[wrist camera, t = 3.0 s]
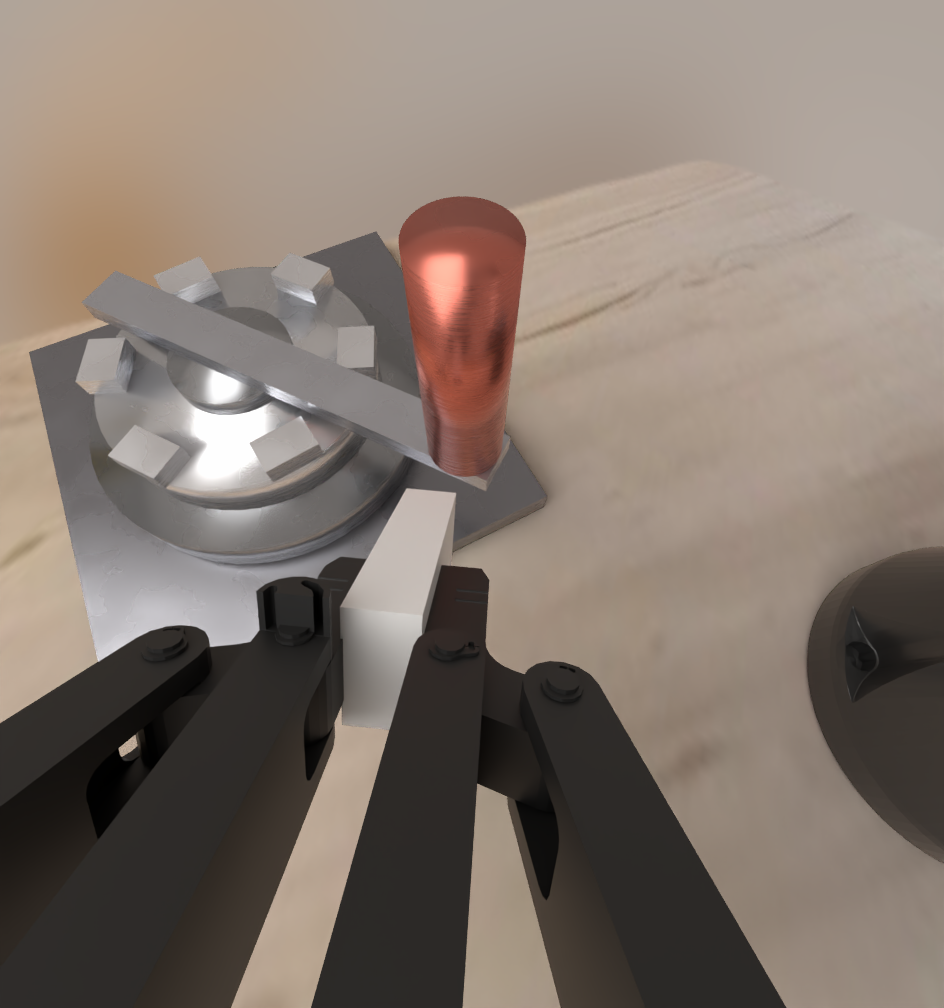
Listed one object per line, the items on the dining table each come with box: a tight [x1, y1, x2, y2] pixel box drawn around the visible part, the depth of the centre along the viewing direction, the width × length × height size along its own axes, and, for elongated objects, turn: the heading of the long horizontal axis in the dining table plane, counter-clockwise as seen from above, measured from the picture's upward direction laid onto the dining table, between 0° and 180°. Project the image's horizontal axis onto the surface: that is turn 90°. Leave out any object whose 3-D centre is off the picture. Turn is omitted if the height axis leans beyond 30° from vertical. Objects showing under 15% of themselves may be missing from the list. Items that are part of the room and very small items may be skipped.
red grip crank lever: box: [75, 197, 526, 510], centre depth 21 cm, size 22×14×14 cm, turn 64°
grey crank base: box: [29, 232, 547, 662], centre depth 30 cm, size 24×24×4 cm
